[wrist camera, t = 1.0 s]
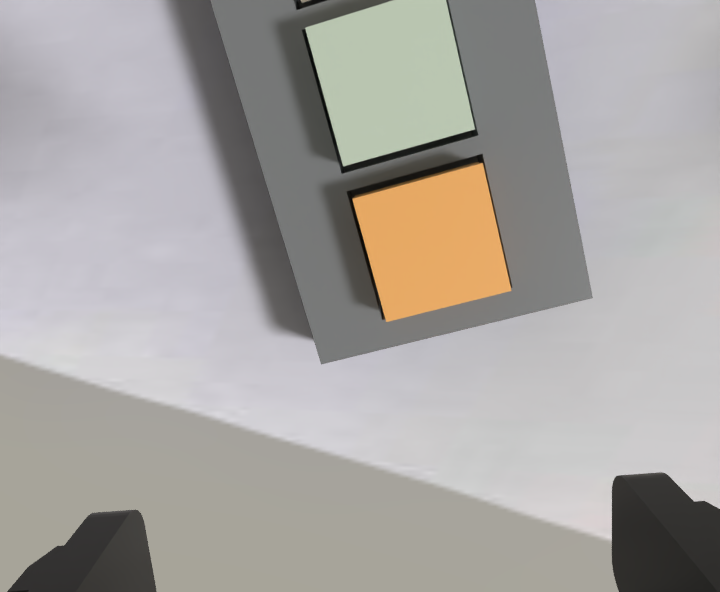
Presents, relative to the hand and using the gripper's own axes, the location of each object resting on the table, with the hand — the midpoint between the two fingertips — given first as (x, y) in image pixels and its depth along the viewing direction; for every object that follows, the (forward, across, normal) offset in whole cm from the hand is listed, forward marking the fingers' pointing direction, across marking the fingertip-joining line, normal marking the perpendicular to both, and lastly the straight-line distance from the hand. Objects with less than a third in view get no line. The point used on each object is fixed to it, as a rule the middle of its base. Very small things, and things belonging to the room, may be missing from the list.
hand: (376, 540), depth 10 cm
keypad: (+21, -2, -10) cm, 23 cm away
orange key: (+19, -3, -3) cm, 19 cm away
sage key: (+18, -2, -10) cm, 21 cm away
